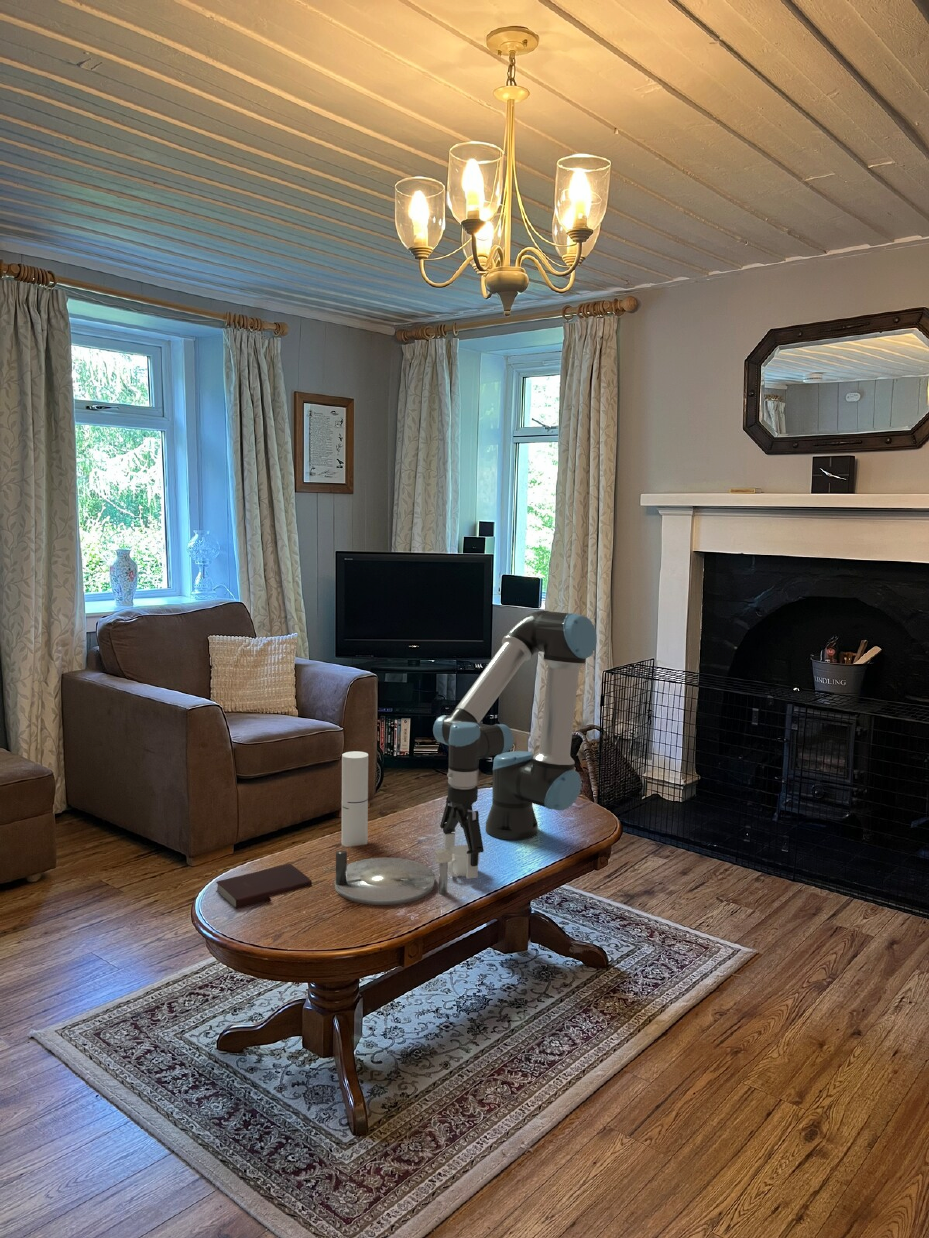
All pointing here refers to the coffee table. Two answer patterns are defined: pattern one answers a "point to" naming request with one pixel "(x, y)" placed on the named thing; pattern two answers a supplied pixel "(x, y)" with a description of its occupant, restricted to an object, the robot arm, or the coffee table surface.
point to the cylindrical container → (354, 798)
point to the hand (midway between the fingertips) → (460, 867)
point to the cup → (459, 861)
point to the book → (261, 885)
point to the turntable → (382, 880)
